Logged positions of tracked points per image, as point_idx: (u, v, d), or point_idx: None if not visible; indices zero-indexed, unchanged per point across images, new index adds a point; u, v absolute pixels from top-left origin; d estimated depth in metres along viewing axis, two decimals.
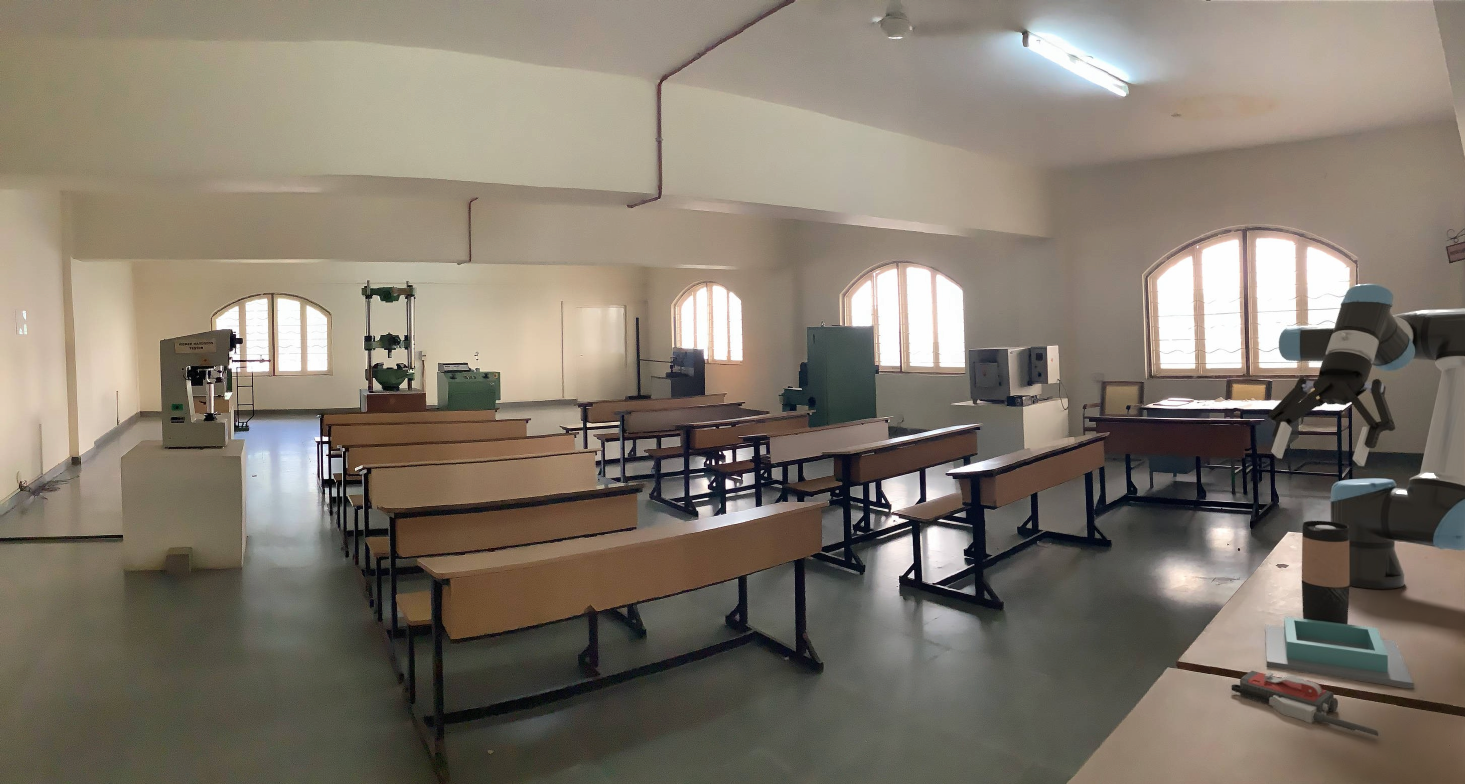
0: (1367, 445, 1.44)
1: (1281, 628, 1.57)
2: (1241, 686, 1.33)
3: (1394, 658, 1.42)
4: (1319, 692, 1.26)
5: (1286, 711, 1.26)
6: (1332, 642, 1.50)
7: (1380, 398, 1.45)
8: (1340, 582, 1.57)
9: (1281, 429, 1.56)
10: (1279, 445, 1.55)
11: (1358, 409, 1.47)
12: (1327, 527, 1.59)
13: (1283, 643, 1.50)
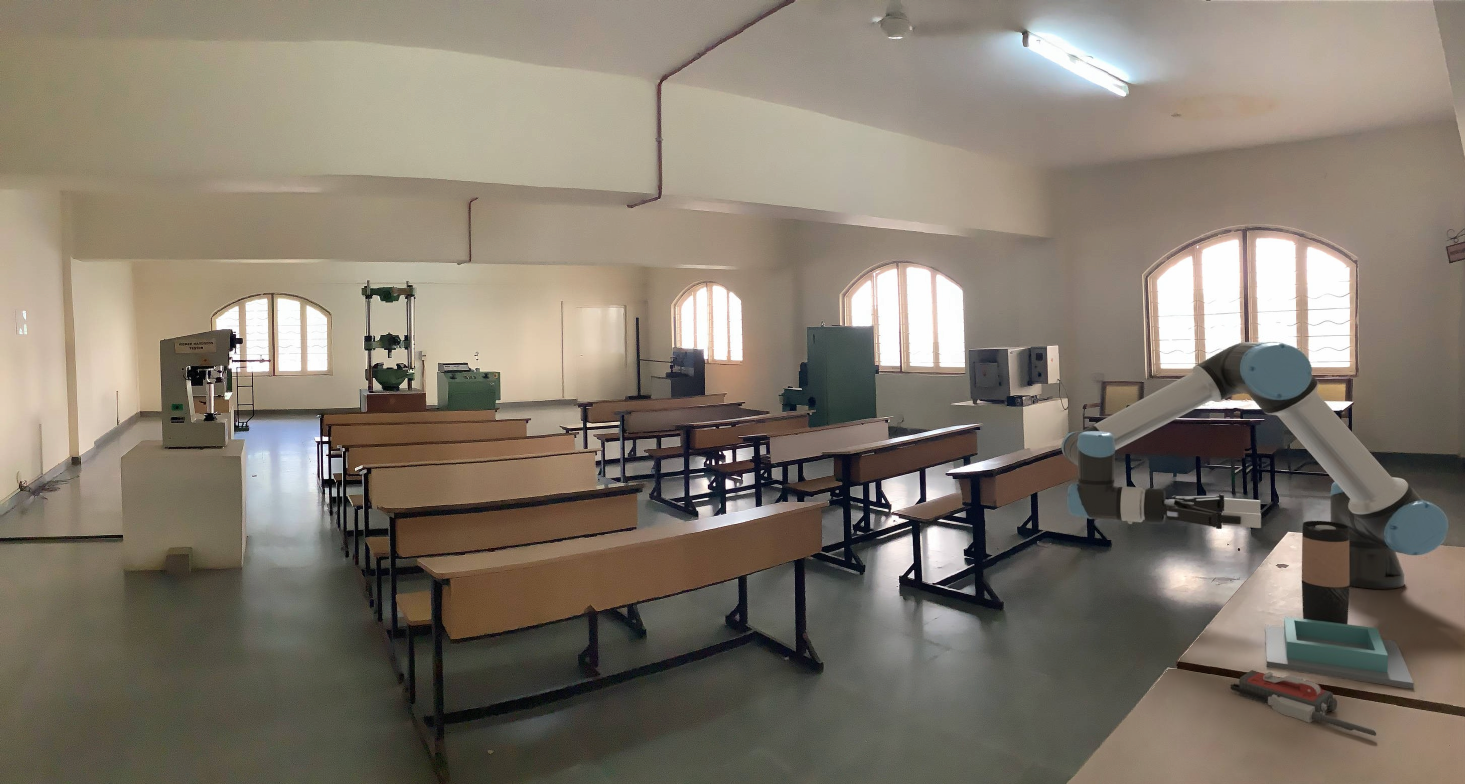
0: (1240, 521, 1.61)
1: (1281, 628, 1.57)
2: (1240, 685, 1.33)
3: (1394, 658, 1.42)
4: (1318, 692, 1.26)
5: (1284, 711, 1.26)
6: (1332, 642, 1.50)
7: (1188, 521, 1.66)
8: (1340, 582, 1.57)
9: None
10: (1250, 510, 1.72)
11: None
12: (1327, 527, 1.59)
13: (1283, 643, 1.50)
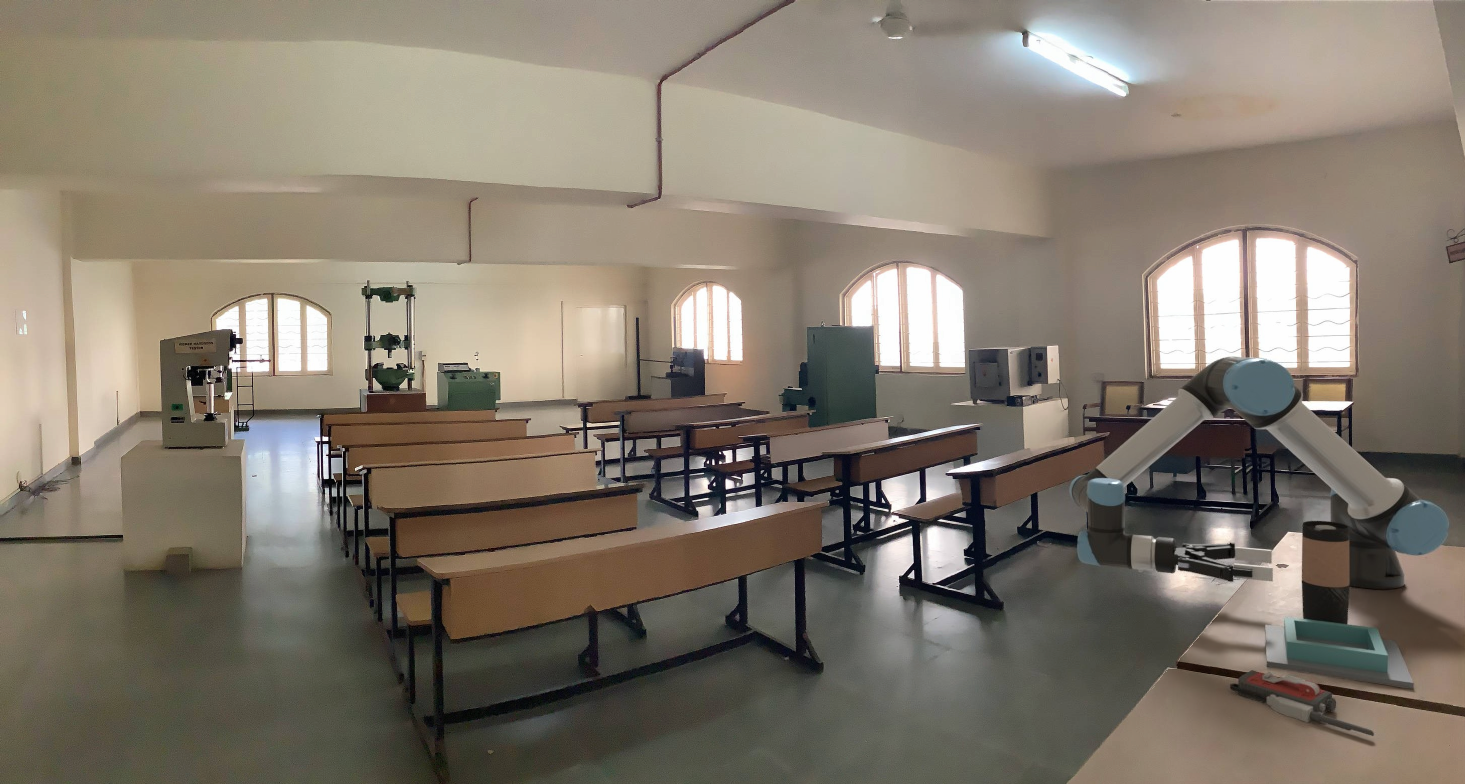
0: (1252, 574, 1.61)
1: (1281, 628, 1.57)
2: (1239, 685, 1.33)
3: (1394, 658, 1.42)
4: (1317, 692, 1.26)
5: (1283, 710, 1.26)
6: (1332, 642, 1.50)
7: (1199, 573, 1.65)
8: (1340, 582, 1.57)
9: None
10: (1261, 559, 1.71)
11: None
12: (1327, 527, 1.59)
13: (1283, 643, 1.50)
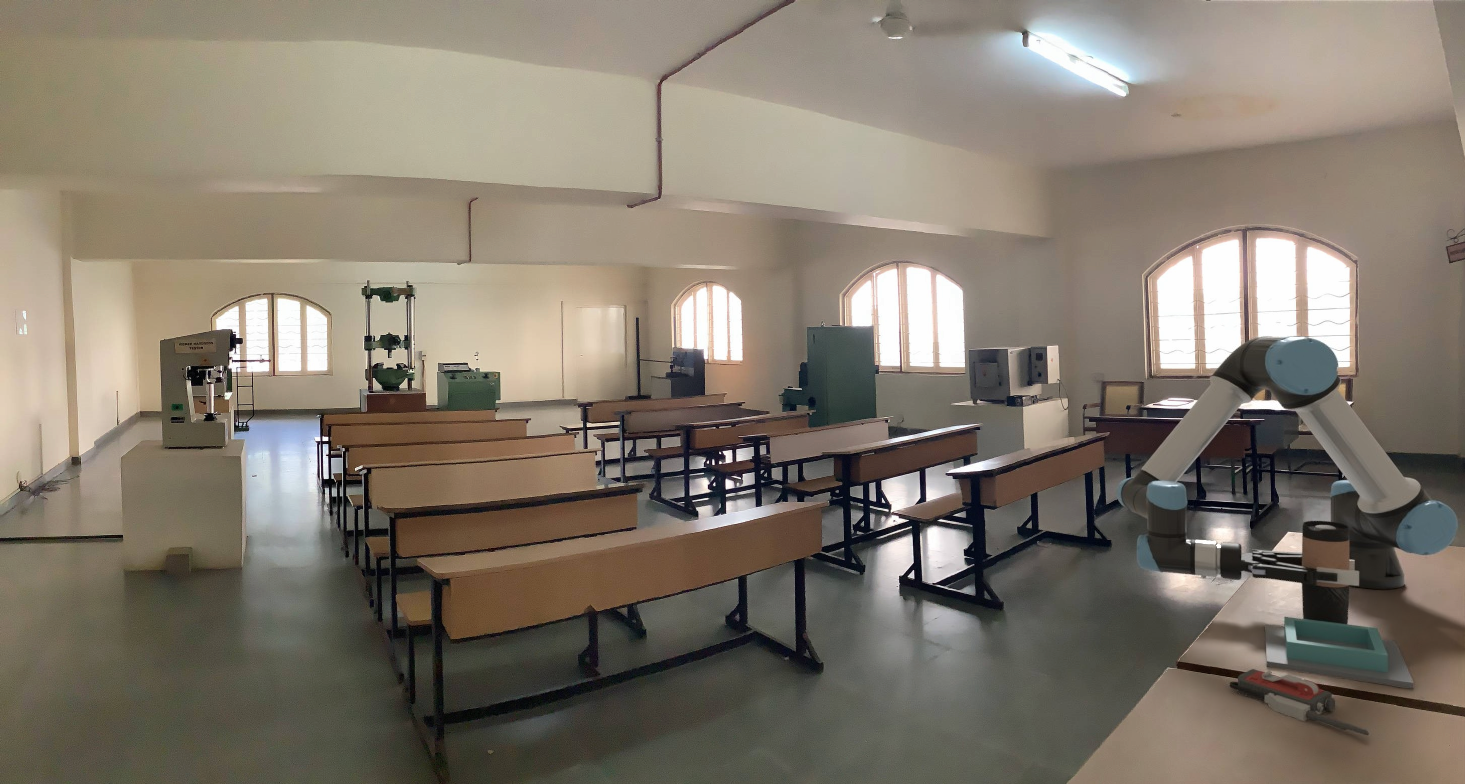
0: (1337, 578, 1.56)
1: (1281, 628, 1.57)
2: (1239, 683, 1.34)
3: (1394, 658, 1.42)
4: (1315, 691, 1.27)
5: (1280, 709, 1.26)
6: (1332, 642, 1.50)
7: (1278, 579, 1.59)
8: None
9: None
10: None
11: None
12: (1327, 527, 1.59)
13: (1283, 643, 1.50)
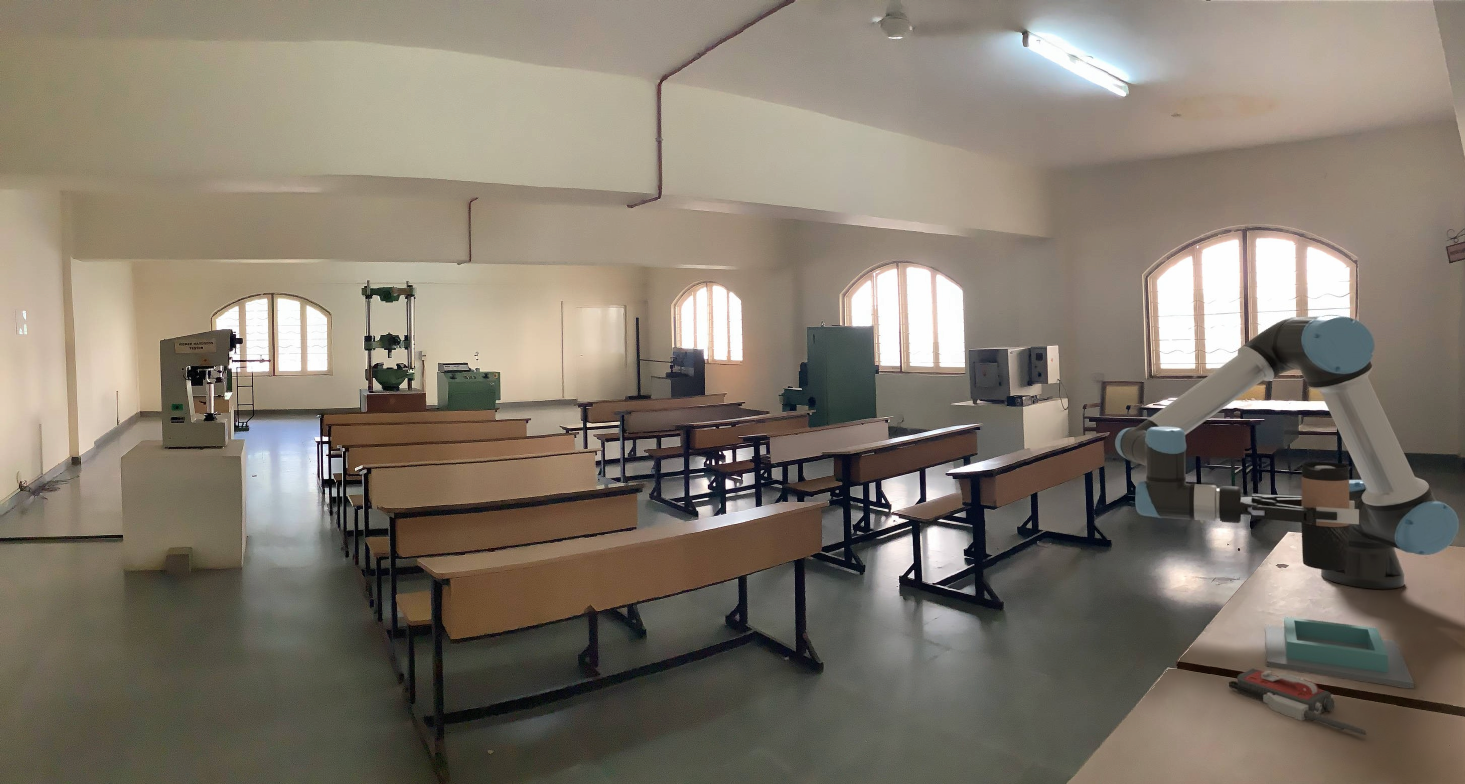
0: (1336, 517, 1.55)
1: (1281, 628, 1.57)
2: (1238, 683, 1.34)
3: (1394, 658, 1.42)
4: (1314, 691, 1.27)
5: (1278, 708, 1.27)
6: (1332, 642, 1.50)
7: (1277, 519, 1.58)
8: None
9: None
10: None
11: None
12: (1327, 467, 1.58)
13: (1283, 643, 1.50)
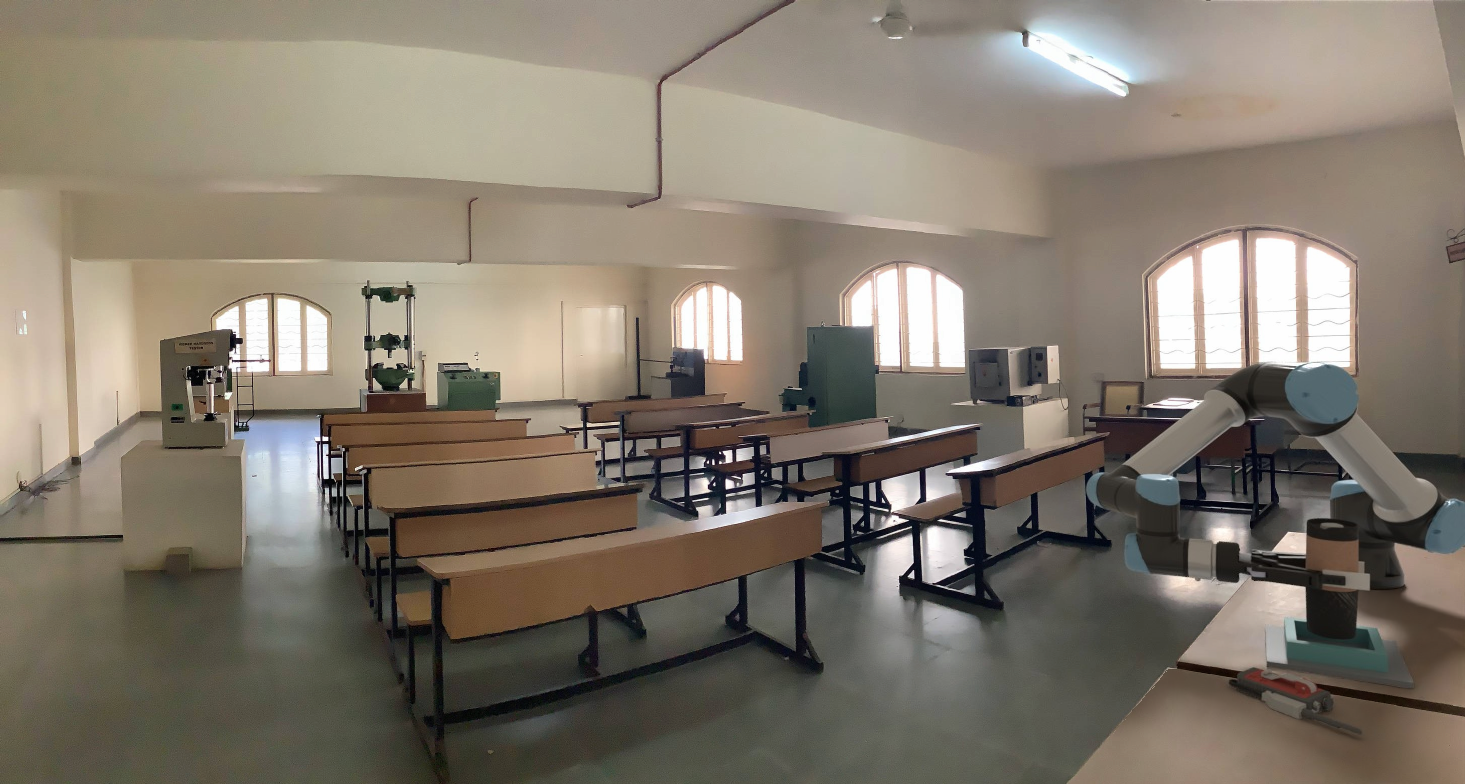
0: None
1: (1281, 628, 1.57)
2: (1238, 681, 1.34)
3: (1394, 658, 1.42)
4: (1313, 690, 1.27)
5: (1276, 706, 1.27)
6: (1332, 642, 1.50)
7: (1280, 582, 1.44)
8: None
9: None
10: None
11: None
12: (1334, 525, 1.44)
13: (1283, 643, 1.50)
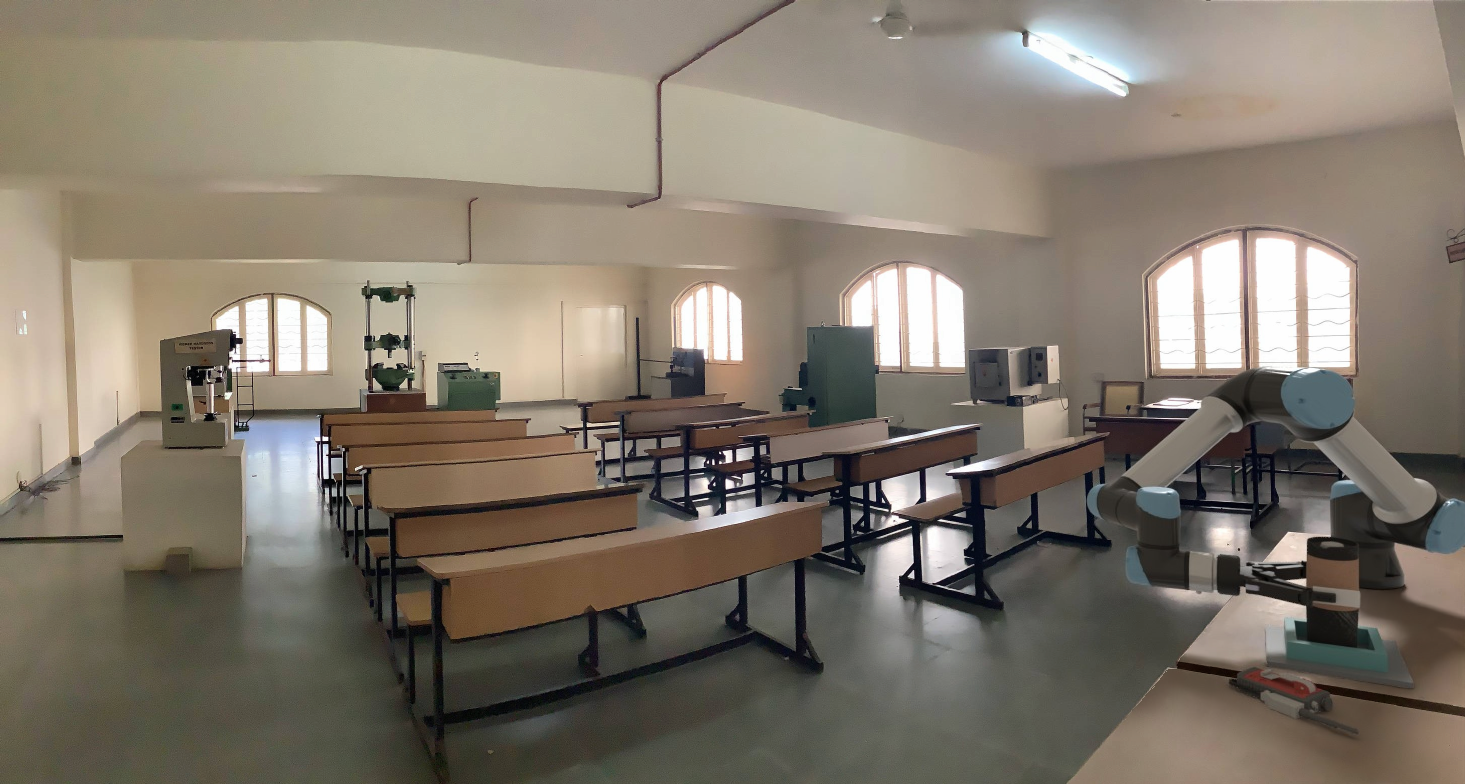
0: (1335, 599, 1.39)
1: (1281, 628, 1.57)
2: (1237, 680, 1.35)
3: (1394, 658, 1.42)
4: (1312, 690, 1.27)
5: (1274, 706, 1.27)
6: None
7: (1272, 597, 1.44)
8: None
9: None
10: None
11: None
12: (1334, 544, 1.44)
13: (1283, 643, 1.50)
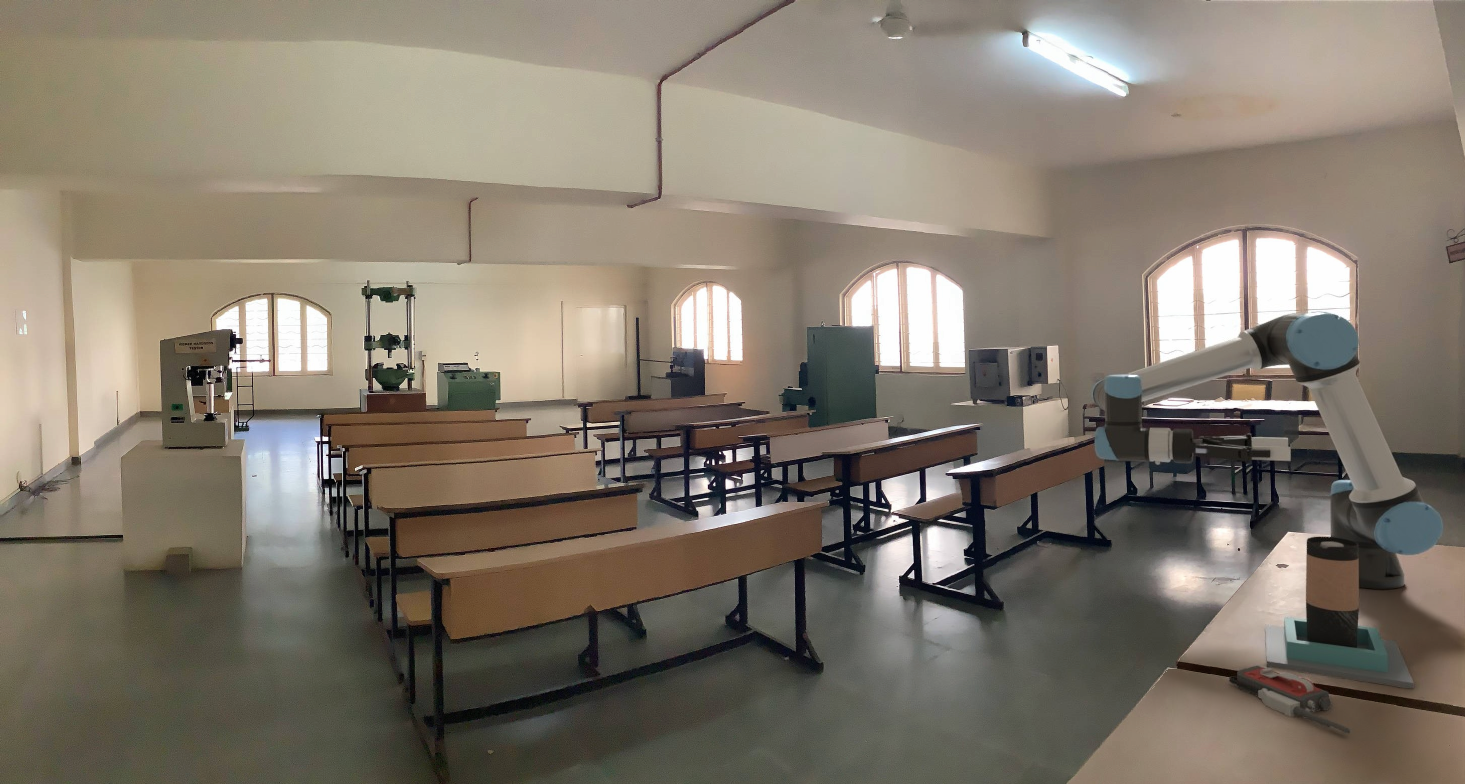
0: (1270, 454, 1.62)
1: (1281, 628, 1.57)
2: (1237, 678, 1.36)
3: (1394, 658, 1.42)
4: (1309, 689, 1.27)
5: (1270, 704, 1.28)
6: None
7: (1217, 457, 1.67)
8: (1348, 605, 1.42)
9: None
10: None
11: None
12: (1334, 544, 1.44)
13: (1283, 643, 1.50)
